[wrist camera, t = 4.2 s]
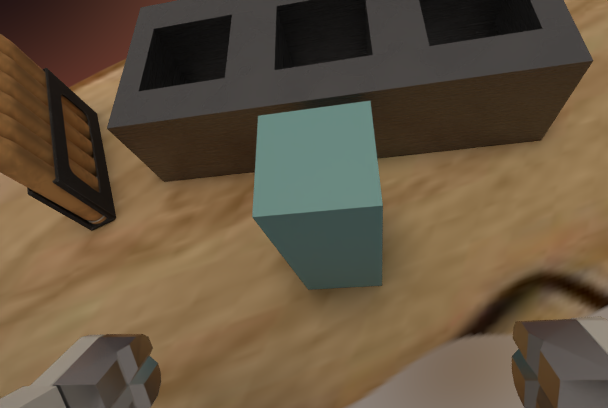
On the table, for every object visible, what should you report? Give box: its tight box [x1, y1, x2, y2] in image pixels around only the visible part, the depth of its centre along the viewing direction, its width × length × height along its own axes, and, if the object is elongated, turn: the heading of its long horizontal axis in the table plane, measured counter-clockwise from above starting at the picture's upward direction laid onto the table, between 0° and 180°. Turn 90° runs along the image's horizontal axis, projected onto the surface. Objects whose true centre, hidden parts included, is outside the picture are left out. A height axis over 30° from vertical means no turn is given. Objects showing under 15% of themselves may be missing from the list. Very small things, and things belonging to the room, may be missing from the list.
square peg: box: [252, 101, 383, 290], centre depth 16 cm, size 4×4×10 cm
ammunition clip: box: [0, 34, 116, 230], centre depth 22 cm, size 11×2×12 cm, turn 24°
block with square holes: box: [107, 0, 593, 182], centre depth 23 cm, size 24×10×6 cm, turn 91°
